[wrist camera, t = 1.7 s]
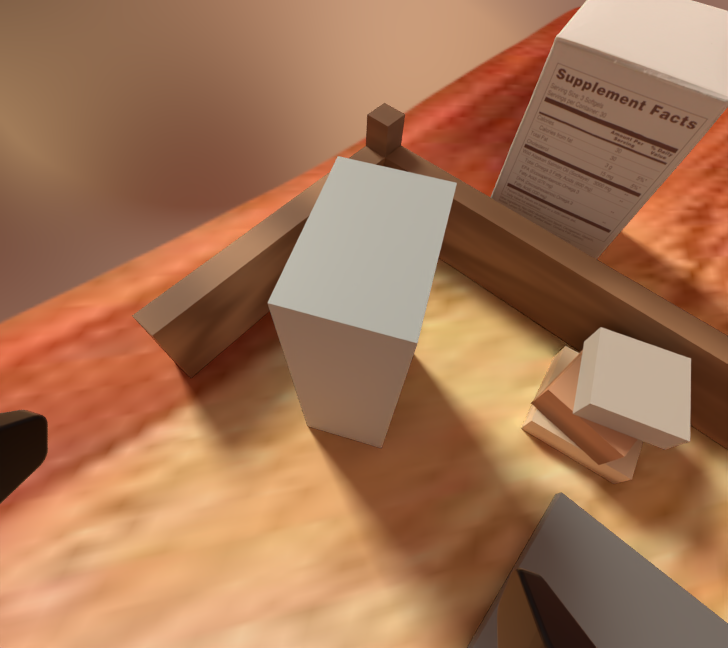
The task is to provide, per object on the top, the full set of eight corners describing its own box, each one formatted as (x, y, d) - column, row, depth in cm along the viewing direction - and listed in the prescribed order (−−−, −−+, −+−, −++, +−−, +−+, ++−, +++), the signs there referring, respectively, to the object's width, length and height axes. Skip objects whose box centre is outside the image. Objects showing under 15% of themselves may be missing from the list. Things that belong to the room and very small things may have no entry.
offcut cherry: (598, 465, 19) (624, 456, 17) (530, 403, 20) (548, 389, 19) (651, 399, 21) (679, 385, 19) (586, 346, 22) (606, 328, 20)
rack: (599, 786, 15) (776, 950, 9) (173, 361, 22) (109, 290, 16) (738, 429, 22) (892, 383, 16) (376, 196, 29) (384, 103, 23)
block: (381, 448, 21) (417, 343, 10) (307, 425, 21) (267, 302, 10) (407, 346, 23) (456, 183, 13) (341, 328, 24) (337, 156, 13)
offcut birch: (607, 485, 21) (631, 479, 19) (517, 430, 22) (531, 420, 20) (633, 406, 23) (657, 394, 21) (549, 360, 24) (565, 345, 22)
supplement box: (514, 178, 31) (608, -30, 20) (608, 221, 29) (770, 19, 18) (470, 237, 28) (552, 31, 17) (573, 290, 26) (742, 98, 15)
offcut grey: (664, 449, 18) (690, 441, 16) (572, 413, 18) (590, 403, 17) (667, 371, 19) (690, 358, 18) (584, 341, 20) (600, 327, 19)
